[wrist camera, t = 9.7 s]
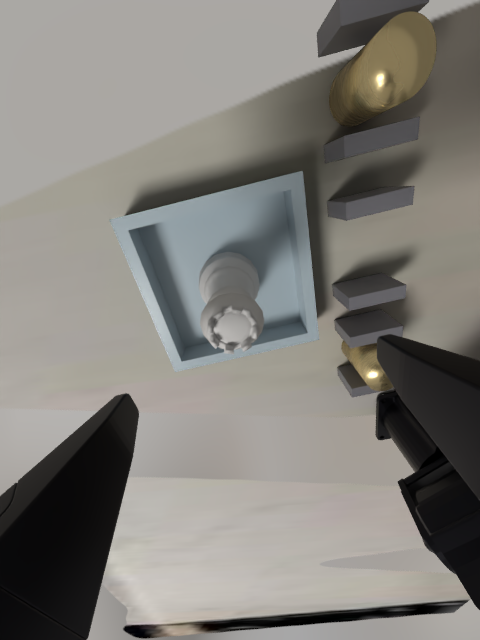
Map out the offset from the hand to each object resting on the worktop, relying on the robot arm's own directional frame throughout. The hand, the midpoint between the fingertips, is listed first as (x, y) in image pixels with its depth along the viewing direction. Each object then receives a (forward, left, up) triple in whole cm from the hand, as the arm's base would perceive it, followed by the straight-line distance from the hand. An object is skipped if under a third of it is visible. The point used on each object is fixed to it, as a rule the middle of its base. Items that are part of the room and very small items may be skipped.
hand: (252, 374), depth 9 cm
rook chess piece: (0, +1, -12) cm, 12 cm away
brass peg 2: (-9, -9, -12) cm, 18 cm away
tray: (0, +1, -12) cm, 12 cm away
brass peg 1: (+9, -9, -12) cm, 18 cm away
